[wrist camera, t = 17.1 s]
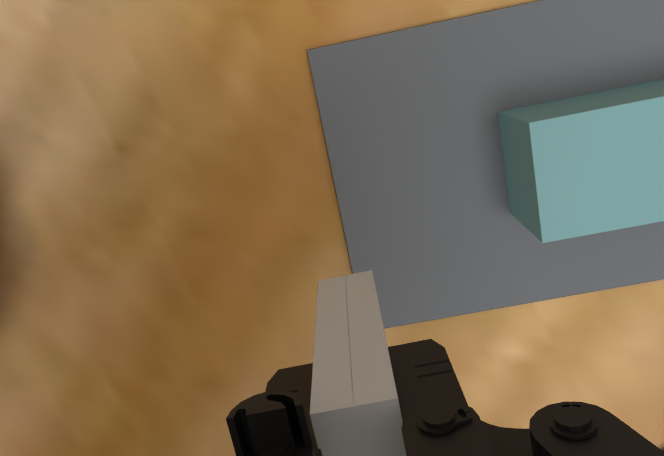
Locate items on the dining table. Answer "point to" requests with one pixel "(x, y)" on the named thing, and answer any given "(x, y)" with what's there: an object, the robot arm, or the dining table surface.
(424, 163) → the mat
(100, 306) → the dining table surface
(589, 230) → the block
